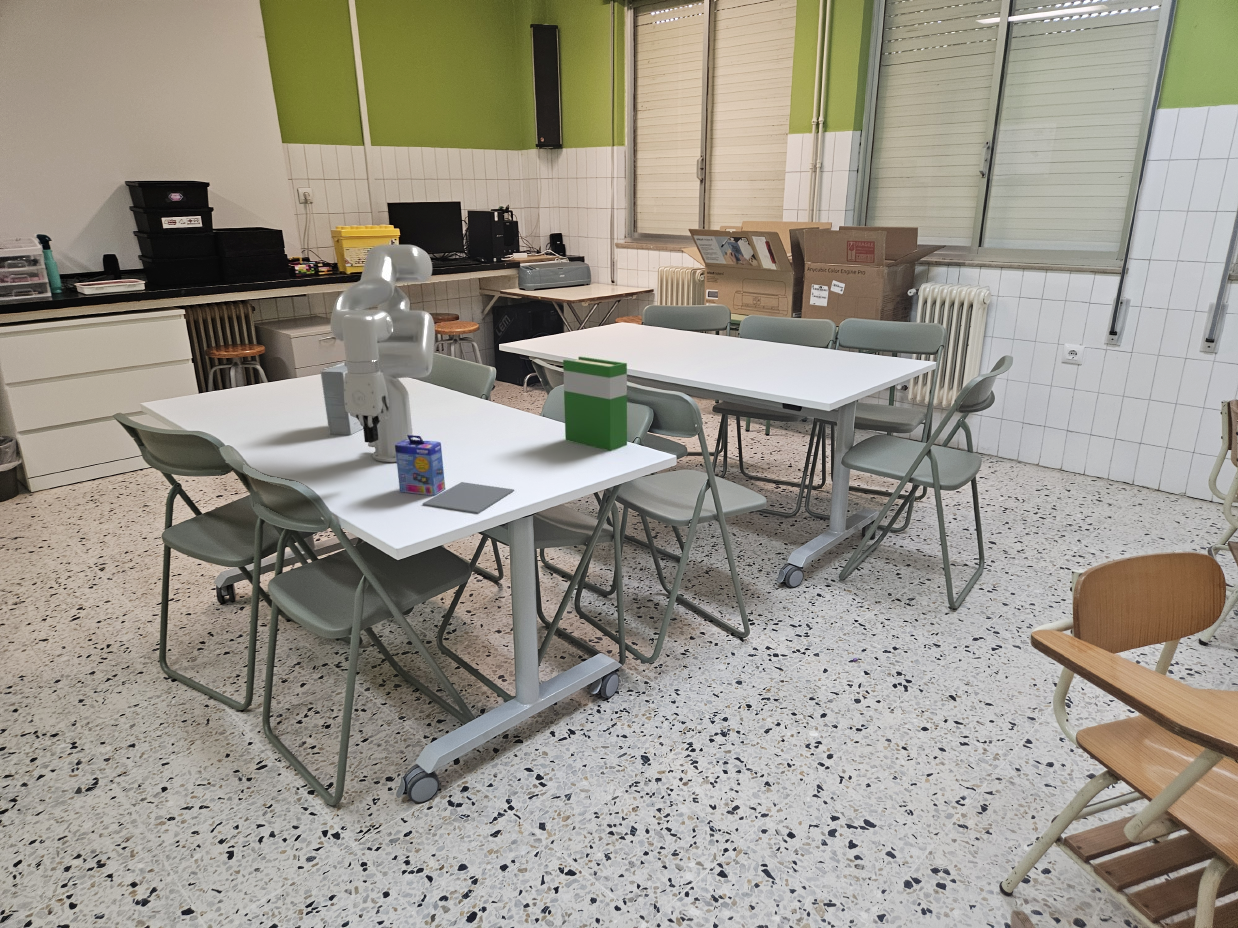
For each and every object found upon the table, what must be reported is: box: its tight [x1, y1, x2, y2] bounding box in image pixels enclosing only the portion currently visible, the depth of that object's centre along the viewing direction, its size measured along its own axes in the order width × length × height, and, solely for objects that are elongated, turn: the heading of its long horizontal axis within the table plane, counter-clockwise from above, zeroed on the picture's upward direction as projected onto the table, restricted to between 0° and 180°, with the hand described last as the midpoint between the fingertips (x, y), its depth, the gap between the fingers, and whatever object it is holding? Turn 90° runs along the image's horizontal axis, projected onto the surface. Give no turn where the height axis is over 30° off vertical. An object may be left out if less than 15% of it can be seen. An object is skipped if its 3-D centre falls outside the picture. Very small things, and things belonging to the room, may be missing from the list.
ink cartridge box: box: [395, 434, 446, 497], centre depth 182 cm, size 10×6×14 cm, turn 73°
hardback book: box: [562, 356, 628, 452], centre depth 220 cm, size 18×7×24 cm, turn 50°
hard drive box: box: [320, 362, 363, 436], centre depth 237 cm, size 16×8×20 cm, turn 168°
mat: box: [422, 481, 515, 515], centre depth 180 cm, size 15×16×1 cm
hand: (371, 441), depth 186 cm, fingers closed
